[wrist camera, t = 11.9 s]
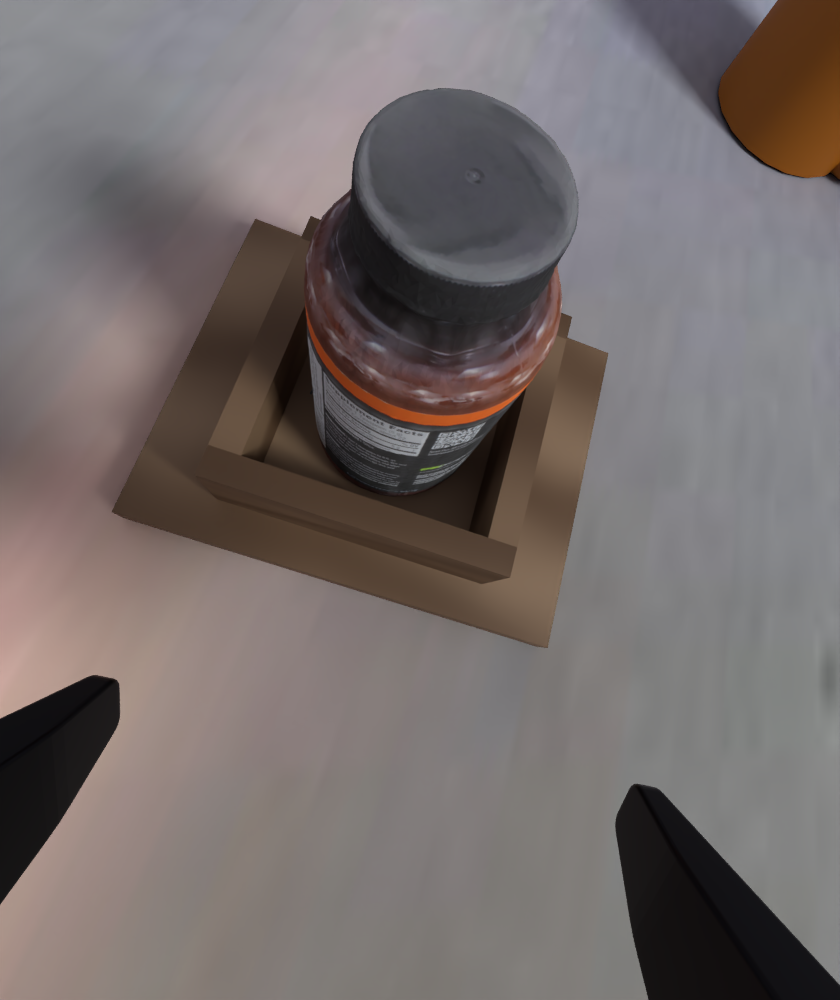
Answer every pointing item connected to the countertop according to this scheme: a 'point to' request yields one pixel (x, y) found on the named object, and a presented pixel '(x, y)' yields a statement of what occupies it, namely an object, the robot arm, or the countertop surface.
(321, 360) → the supplement bottle
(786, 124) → the mug
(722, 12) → the countertop surface
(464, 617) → the bottle stand
